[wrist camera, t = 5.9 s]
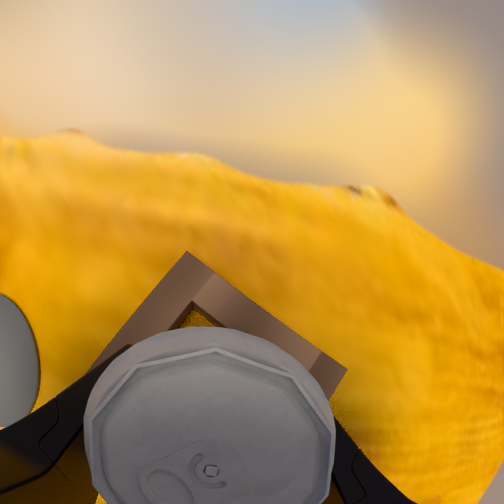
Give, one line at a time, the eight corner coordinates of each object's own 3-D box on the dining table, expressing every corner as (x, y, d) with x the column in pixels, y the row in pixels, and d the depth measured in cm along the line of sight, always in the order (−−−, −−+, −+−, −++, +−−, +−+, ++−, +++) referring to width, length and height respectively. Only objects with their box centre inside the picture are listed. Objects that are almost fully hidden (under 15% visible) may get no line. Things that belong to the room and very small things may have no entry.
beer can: (266, 402, 15) (400, 473, 4) (193, 446, 13) (185, 595, 2) (217, 331, 16) (255, 260, 5) (144, 374, 14) (15, 399, 3)
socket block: (328, 368, 16) (347, 369, 14) (227, 500, 12) (231, 519, 10) (189, 265, 17) (186, 250, 14) (83, 396, 13) (65, 401, 11)
